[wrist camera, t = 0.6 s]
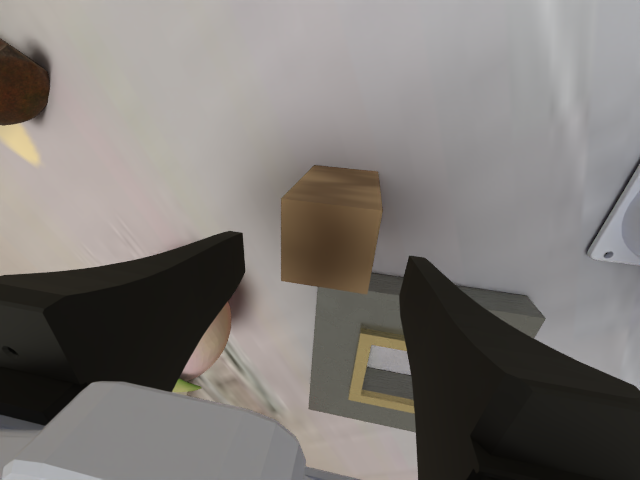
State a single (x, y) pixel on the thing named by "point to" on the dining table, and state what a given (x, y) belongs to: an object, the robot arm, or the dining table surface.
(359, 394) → the grey socket base
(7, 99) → the bolt
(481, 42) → the dining table surface
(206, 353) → the decorative fruit
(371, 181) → the brown rectangular block
